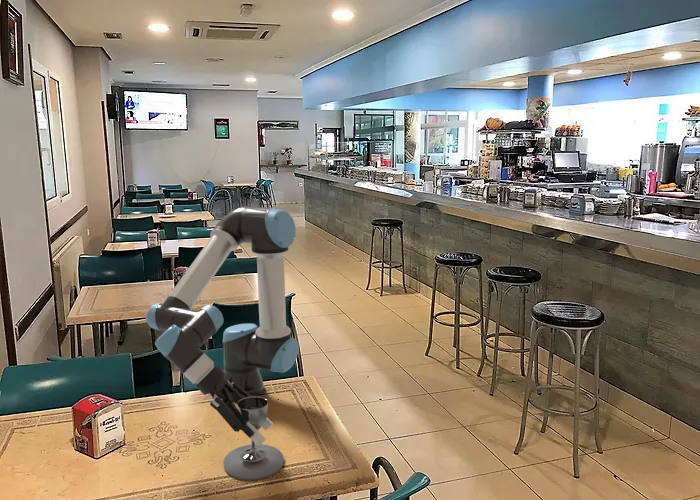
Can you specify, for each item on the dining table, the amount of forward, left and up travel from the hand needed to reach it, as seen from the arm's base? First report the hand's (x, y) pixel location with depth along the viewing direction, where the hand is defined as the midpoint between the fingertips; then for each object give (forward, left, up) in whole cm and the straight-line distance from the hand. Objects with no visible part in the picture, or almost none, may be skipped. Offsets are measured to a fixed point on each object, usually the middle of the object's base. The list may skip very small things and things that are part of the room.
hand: (265, 434), depth 155 cm
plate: (+1, -3, -9) cm, 9 cm away
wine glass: (+1, -3, -6) cm, 7 cm away
